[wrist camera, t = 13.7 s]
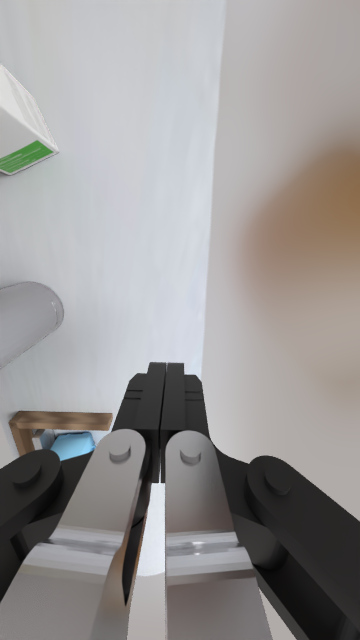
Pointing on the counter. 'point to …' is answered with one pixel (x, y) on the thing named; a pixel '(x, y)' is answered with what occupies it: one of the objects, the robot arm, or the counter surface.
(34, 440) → the stop plate
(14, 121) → the skincare box
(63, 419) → the bracket
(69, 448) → the teapot
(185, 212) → the counter surface
